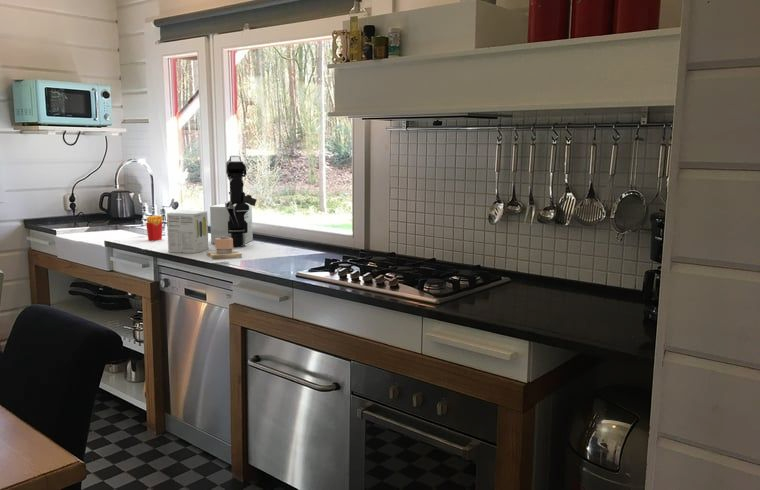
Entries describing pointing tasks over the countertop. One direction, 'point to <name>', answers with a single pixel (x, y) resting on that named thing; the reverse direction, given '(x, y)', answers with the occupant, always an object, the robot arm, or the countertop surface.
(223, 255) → the post stand
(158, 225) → the french fries
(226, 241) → the ring
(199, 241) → the supplement box
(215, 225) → the supplement box
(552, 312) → the countertop surface
